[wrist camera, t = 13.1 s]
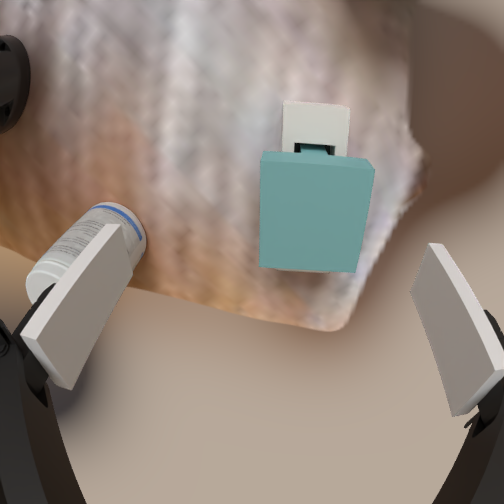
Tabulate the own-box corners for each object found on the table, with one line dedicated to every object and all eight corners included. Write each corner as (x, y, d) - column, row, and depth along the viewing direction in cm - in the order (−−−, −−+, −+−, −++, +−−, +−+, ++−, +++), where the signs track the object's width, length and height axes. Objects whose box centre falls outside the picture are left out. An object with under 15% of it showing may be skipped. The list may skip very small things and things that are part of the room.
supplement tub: (82, 198, 36) (11, 261, 24) (144, 200, 35) (78, 274, 23) (96, 258, 41) (43, 329, 29) (153, 266, 40) (107, 348, 28)
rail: (277, 255, 37) (276, 270, 35) (283, 100, 27) (283, 103, 25) (327, 258, 37) (329, 273, 34) (344, 105, 27) (350, 109, 24)
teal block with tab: (265, 225, 35) (259, 267, 29) (267, 138, 30) (260, 160, 23) (343, 230, 34) (355, 272, 28) (355, 145, 29) (375, 169, 22)
